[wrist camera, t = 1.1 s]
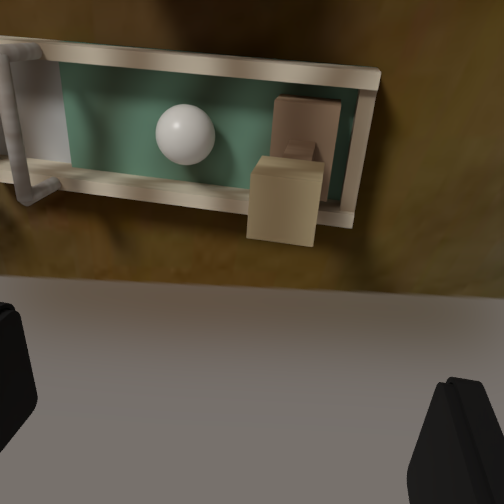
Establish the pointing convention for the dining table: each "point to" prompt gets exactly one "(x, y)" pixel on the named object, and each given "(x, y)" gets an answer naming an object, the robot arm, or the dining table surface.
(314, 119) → the striker
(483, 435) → the robot arm
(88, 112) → the pitch
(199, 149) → the ball
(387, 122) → the dining table surface
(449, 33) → the dining table surface
